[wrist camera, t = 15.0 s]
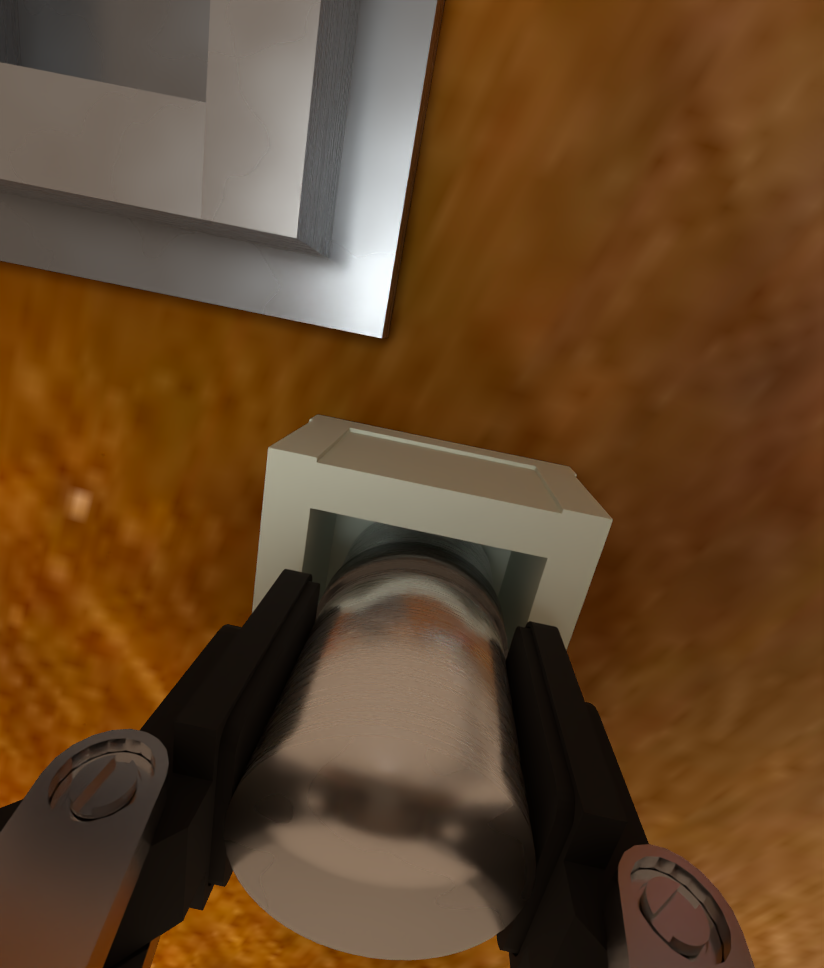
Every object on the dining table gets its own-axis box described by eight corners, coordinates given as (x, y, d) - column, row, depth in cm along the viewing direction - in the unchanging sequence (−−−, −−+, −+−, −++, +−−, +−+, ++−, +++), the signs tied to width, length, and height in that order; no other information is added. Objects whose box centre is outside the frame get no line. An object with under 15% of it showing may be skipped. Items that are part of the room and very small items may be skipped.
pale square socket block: (569, 466, 13) (618, 520, 9) (504, 674, 15) (522, 786, 11) (317, 414, 13) (263, 446, 9) (289, 627, 15) (237, 723, 12)
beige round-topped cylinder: (513, 526, 12) (589, 775, 5) (475, 660, 13) (497, 991, 7) (351, 493, 12) (224, 696, 5) (330, 629, 13) (209, 926, 7)
